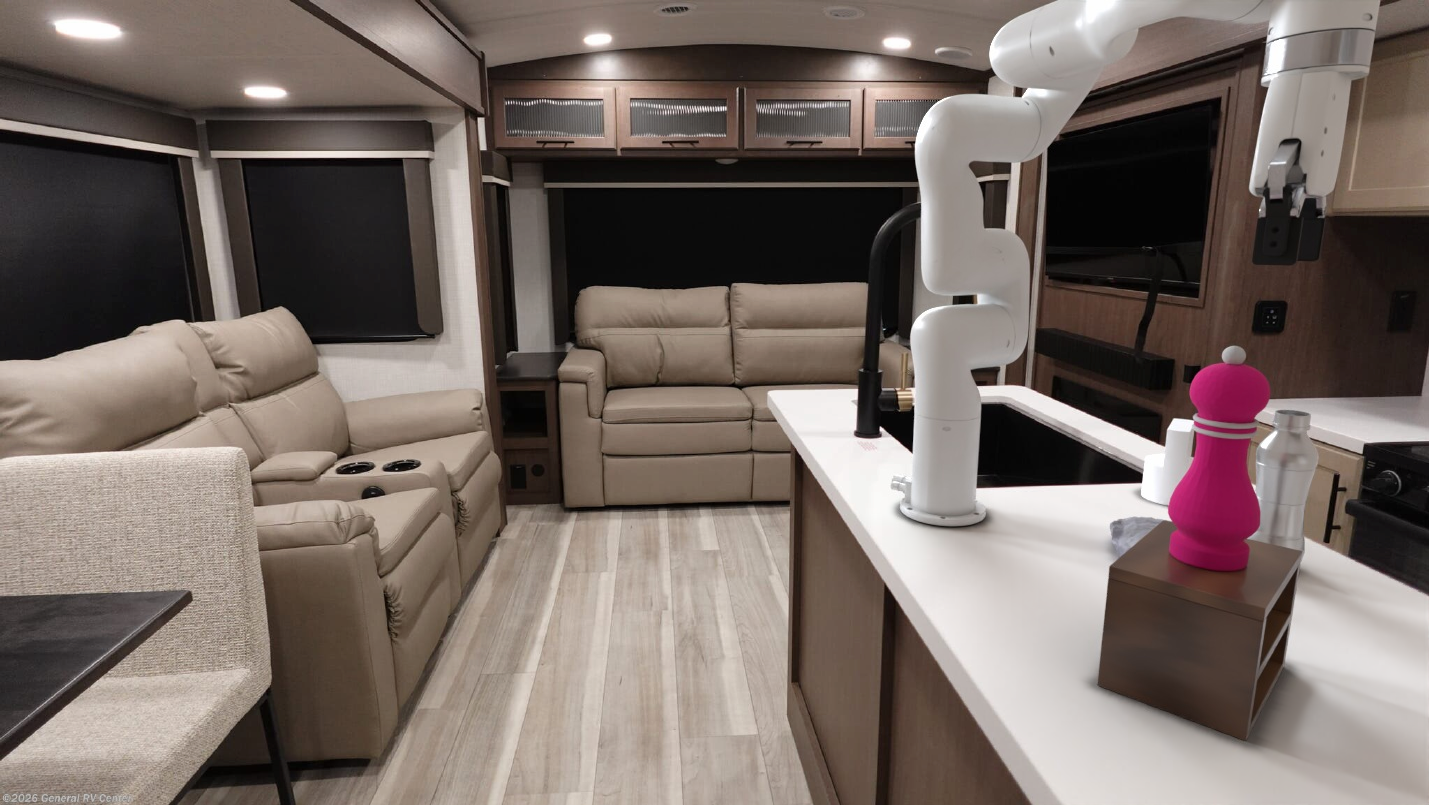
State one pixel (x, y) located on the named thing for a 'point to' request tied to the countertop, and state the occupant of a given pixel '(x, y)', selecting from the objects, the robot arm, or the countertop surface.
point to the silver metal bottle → (1285, 480)
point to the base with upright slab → (1169, 463)
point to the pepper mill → (1220, 468)
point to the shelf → (1198, 631)
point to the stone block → (1131, 531)
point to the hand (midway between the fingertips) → (1286, 262)
